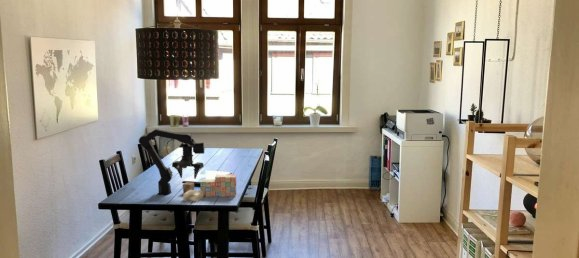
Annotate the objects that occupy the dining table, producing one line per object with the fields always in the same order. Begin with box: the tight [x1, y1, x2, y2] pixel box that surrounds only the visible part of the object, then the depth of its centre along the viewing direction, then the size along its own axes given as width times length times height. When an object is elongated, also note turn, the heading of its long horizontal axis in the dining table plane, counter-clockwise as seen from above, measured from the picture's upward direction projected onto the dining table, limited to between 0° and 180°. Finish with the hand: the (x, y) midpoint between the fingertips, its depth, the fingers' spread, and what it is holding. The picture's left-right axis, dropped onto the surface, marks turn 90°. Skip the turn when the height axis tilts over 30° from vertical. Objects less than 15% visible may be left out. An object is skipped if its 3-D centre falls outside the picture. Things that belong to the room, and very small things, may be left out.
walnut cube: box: [182, 181, 195, 194], centre depth 282 cm, size 5×5×6 cm
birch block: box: [182, 189, 205, 202], centre depth 271 cm, size 9×9×4 cm
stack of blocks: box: [199, 174, 237, 197], centre depth 277 cm, size 21×6×12 cm, turn 91°
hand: (188, 178), depth 281 cm, fingers open, 9 cm apart
